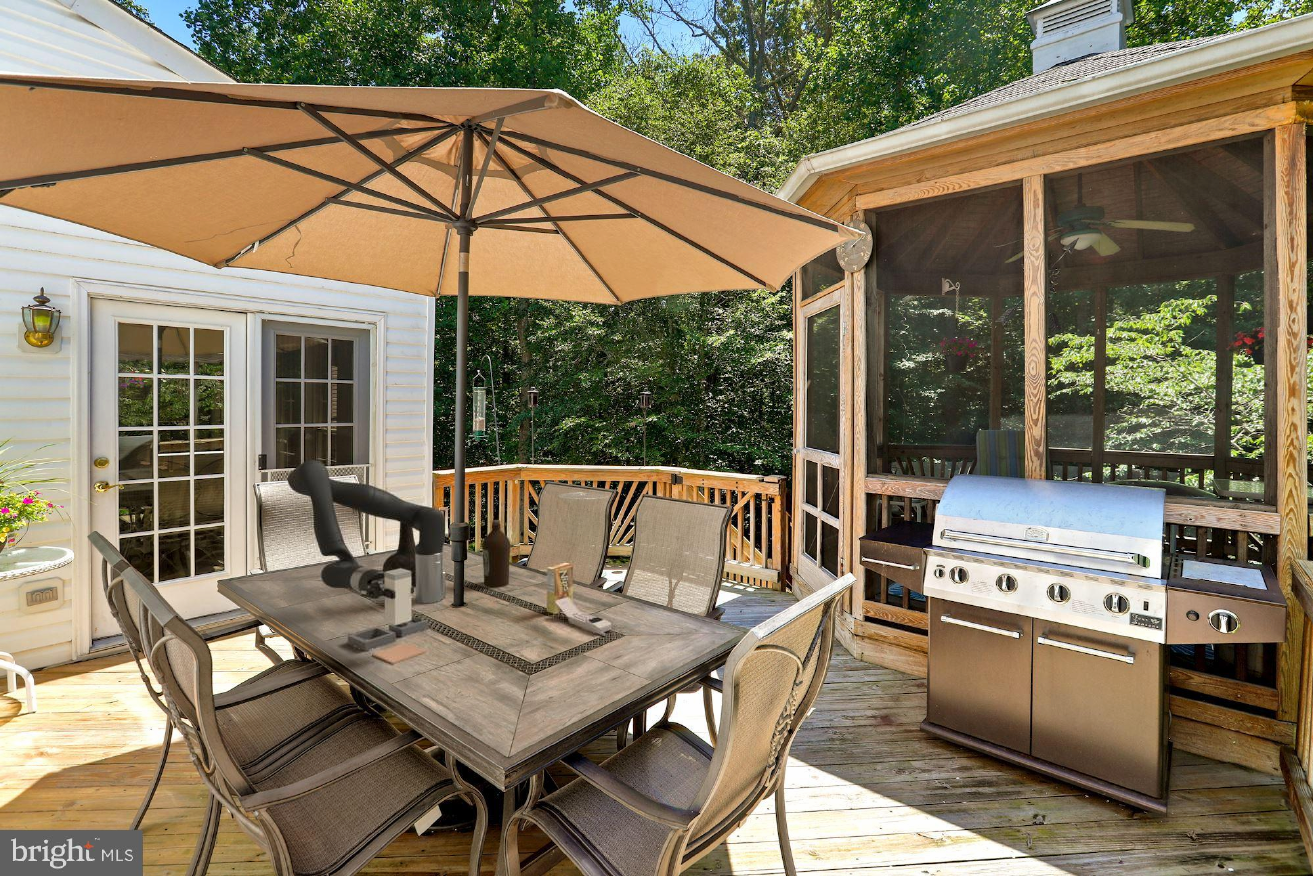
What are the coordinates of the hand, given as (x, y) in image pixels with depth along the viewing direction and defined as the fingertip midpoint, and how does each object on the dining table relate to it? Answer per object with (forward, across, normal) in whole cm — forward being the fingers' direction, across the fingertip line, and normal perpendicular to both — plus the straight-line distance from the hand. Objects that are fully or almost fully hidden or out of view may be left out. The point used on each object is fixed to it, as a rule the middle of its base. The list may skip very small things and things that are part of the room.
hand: (403, 592), depth 172 cm
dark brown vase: (-62, +41, +18) cm, 76 cm away
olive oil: (-34, +61, +18) cm, 72 cm away
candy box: (+7, +54, +18) cm, 58 cm away
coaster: (-3, 0, +18) cm, 18 cm away
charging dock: (-16, +6, +18) cm, 25 cm away
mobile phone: (+24, +48, +18) cm, 57 cm away
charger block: (-3, 0, +8) cm, 9 cm away
